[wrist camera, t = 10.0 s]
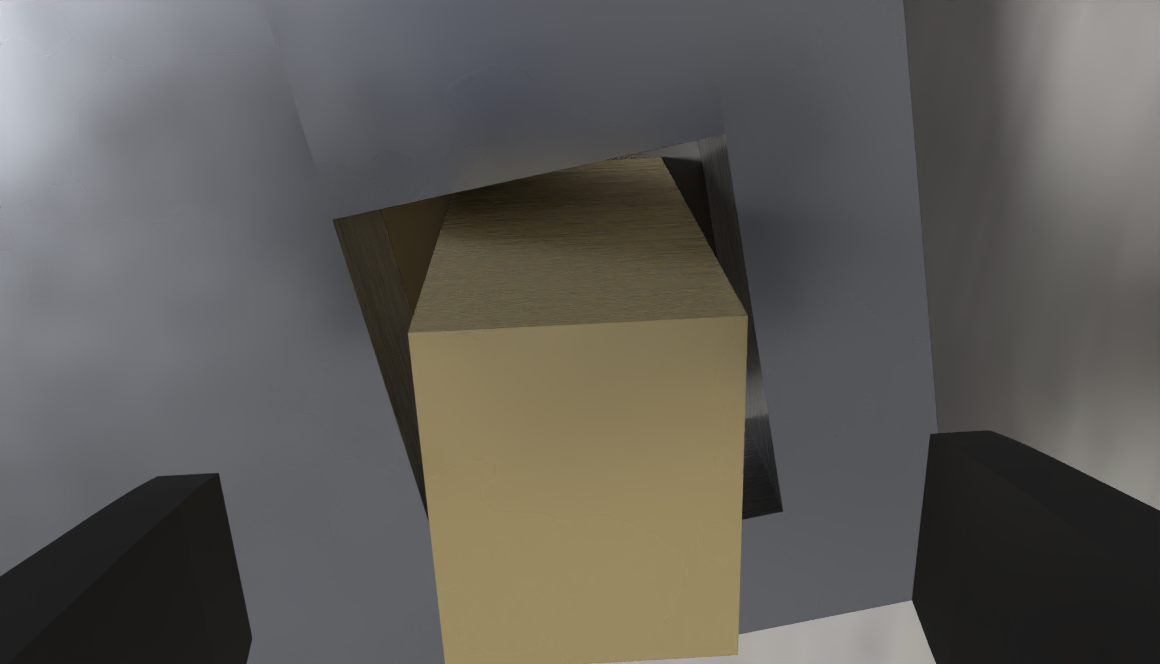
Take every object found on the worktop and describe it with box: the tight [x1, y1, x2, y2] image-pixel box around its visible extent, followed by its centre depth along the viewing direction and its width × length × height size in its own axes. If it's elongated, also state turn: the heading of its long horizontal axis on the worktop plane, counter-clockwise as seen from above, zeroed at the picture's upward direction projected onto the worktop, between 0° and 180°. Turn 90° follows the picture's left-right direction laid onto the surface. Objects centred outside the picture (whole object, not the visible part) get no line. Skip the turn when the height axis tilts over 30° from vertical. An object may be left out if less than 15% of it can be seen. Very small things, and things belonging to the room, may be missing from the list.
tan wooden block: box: [408, 157, 748, 664], centre depth 13 cm, size 3×4×7 cm
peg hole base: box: [0, 0, 938, 664], centre depth 14 cm, size 16×16×3 cm
